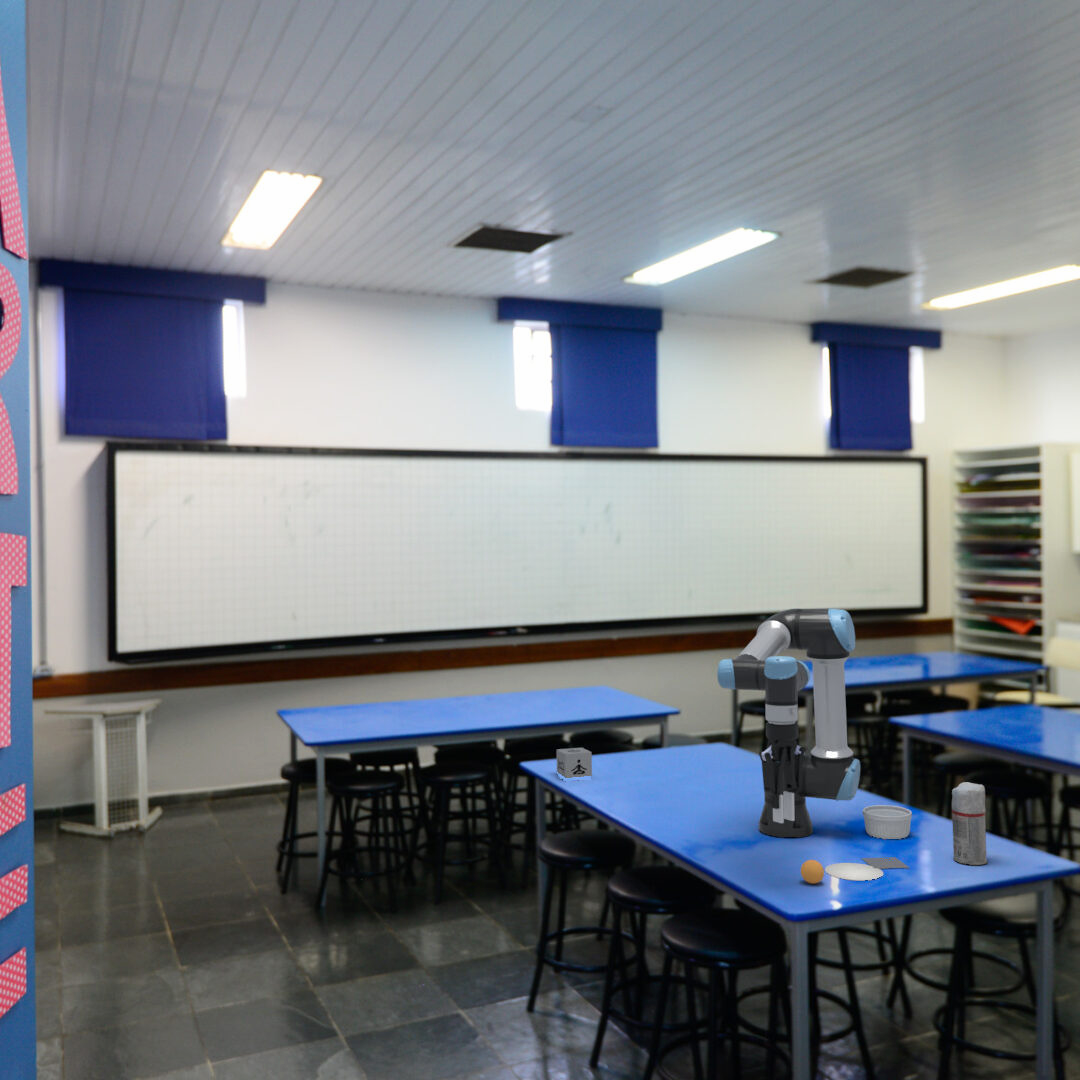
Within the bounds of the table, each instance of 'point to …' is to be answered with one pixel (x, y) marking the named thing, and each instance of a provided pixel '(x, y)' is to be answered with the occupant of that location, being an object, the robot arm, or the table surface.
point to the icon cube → (574, 762)
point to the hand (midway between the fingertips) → (783, 820)
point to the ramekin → (887, 821)
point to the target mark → (853, 871)
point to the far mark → (885, 863)
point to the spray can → (969, 824)
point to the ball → (812, 871)
